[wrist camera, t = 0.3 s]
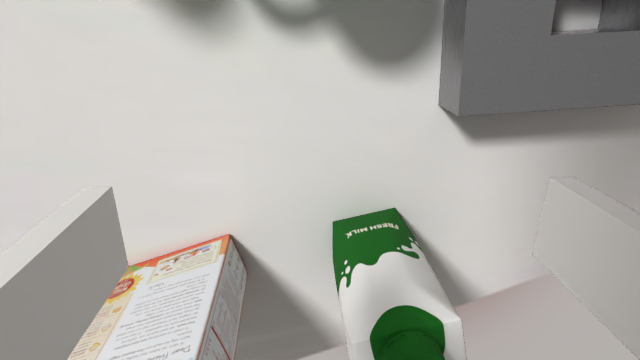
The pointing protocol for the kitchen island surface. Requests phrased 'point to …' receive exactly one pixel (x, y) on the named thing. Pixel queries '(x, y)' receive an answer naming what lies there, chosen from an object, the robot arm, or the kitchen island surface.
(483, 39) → the port block
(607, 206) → the robot arm
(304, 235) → the kitchen island surface
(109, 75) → the kitchen island surface
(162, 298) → the cracker box
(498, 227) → the kitchen island surface
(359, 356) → the milk carton
